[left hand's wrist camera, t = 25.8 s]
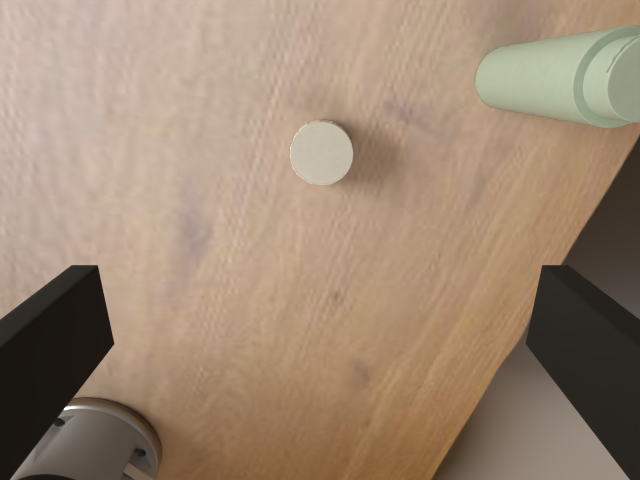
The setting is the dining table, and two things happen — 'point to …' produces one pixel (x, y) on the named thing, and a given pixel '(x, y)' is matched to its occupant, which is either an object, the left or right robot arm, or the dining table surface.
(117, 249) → the dining table surface
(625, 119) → the jar
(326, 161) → the lid
